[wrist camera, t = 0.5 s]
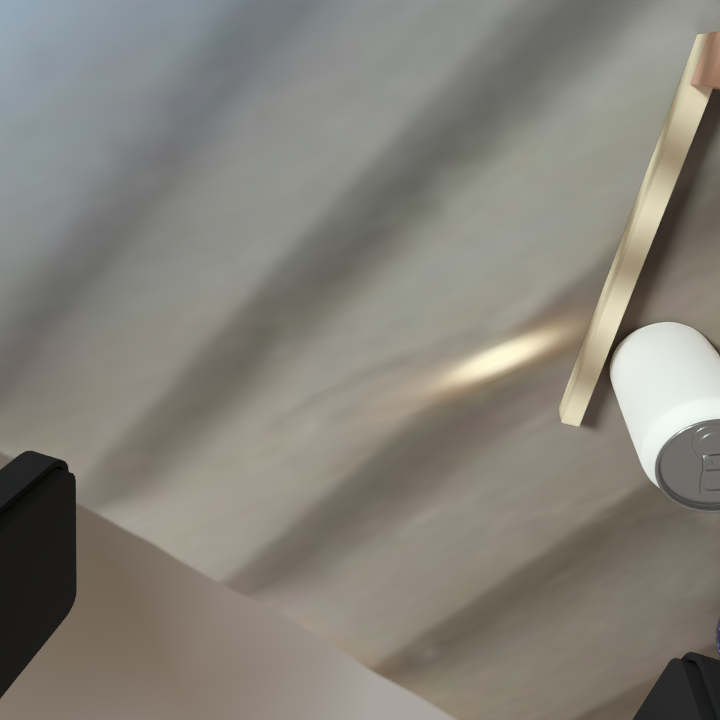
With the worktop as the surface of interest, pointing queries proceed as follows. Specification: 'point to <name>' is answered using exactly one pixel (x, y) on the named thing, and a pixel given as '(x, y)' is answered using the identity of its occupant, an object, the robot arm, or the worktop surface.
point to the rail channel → (644, 220)
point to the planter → (718, 638)
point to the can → (673, 410)
